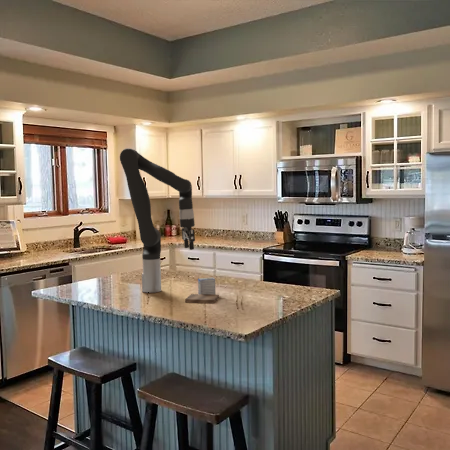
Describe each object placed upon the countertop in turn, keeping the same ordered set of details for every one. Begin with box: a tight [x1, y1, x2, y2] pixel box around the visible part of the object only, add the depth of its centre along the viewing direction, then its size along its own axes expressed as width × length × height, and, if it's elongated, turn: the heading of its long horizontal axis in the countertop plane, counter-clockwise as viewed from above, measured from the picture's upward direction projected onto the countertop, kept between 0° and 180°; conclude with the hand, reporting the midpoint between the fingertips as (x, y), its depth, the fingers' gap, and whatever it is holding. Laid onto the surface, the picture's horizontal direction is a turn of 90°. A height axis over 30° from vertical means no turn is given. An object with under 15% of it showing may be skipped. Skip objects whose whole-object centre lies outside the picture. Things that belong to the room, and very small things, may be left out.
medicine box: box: [197, 276, 217, 295], centre depth 246 cm, size 8×4×9 cm, turn 109°
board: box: [184, 293, 220, 304], centre depth 237 cm, size 14×11×2 cm
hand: (189, 248), depth 257 cm, fingers open, 8 cm apart
